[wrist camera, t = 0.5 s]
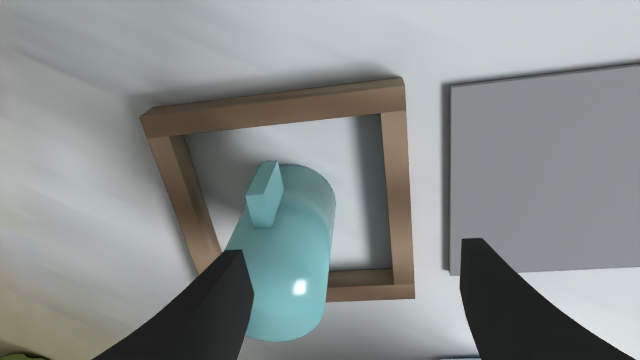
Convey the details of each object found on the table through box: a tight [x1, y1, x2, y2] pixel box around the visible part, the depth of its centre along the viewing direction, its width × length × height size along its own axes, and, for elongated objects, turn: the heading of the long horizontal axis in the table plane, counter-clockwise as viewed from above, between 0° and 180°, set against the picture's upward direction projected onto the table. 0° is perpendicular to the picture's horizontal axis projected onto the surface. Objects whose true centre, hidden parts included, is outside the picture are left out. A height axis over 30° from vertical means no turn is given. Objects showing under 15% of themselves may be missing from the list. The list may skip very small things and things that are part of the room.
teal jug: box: [225, 160, 336, 342], centre depth 20 cm, size 7×5×8 cm
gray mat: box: [449, 64, 640, 276], centre depth 22 cm, size 12×12×1 cm
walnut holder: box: [139, 77, 415, 302], centre depth 23 cm, size 13×13×2 cm
